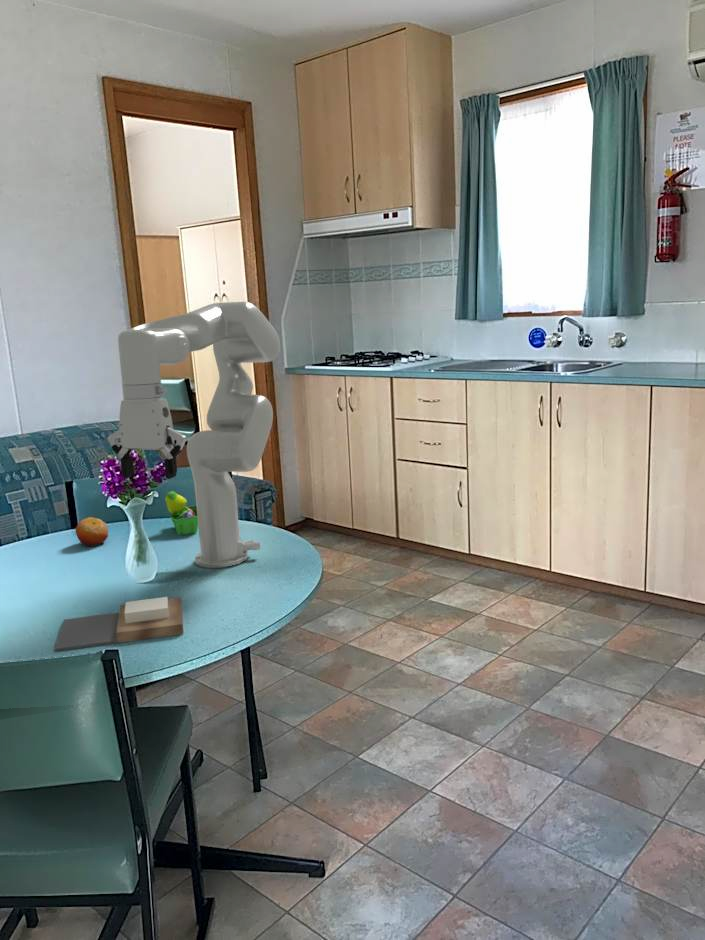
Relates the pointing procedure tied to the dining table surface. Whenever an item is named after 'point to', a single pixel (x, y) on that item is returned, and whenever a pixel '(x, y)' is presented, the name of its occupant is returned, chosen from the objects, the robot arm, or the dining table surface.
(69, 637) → the mat
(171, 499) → the green easter basket
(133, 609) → the block
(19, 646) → the dining table surface
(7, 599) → the dining table surface
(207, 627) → the dining table surface
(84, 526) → the fruit
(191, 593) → the dining table surface
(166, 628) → the board
